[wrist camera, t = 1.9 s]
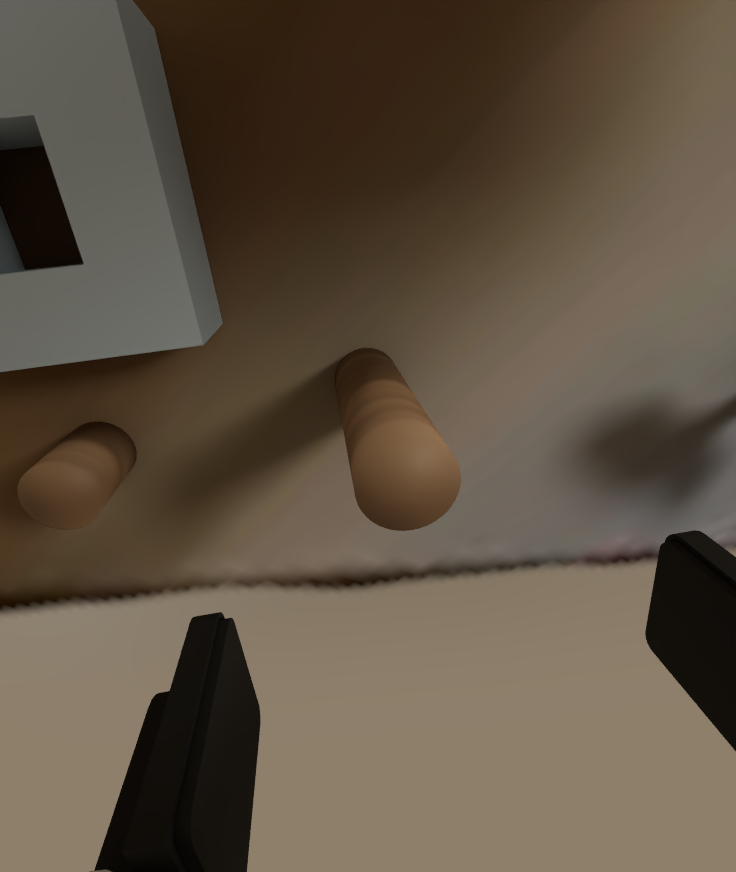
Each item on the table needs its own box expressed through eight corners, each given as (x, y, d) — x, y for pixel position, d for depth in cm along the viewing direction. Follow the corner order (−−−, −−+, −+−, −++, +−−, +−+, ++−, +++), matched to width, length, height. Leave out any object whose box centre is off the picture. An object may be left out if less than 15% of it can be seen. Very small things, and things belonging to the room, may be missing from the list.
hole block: (-157, 56, 19) (-307, 0, 14) (154, 28, 19) (107, -34, 15) (-21, 355, 23) (-100, 385, 19) (222, 323, 24) (203, 345, 20)
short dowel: (58, 426, 25) (3, 469, 21) (125, 417, 26) (85, 458, 21) (81, 483, 27) (35, 534, 22) (144, 473, 27) (111, 523, 22)
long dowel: (330, 352, 25) (348, 445, 15) (394, 344, 26) (458, 428, 15) (339, 412, 27) (360, 538, 16) (399, 404, 27) (462, 521, 16)
